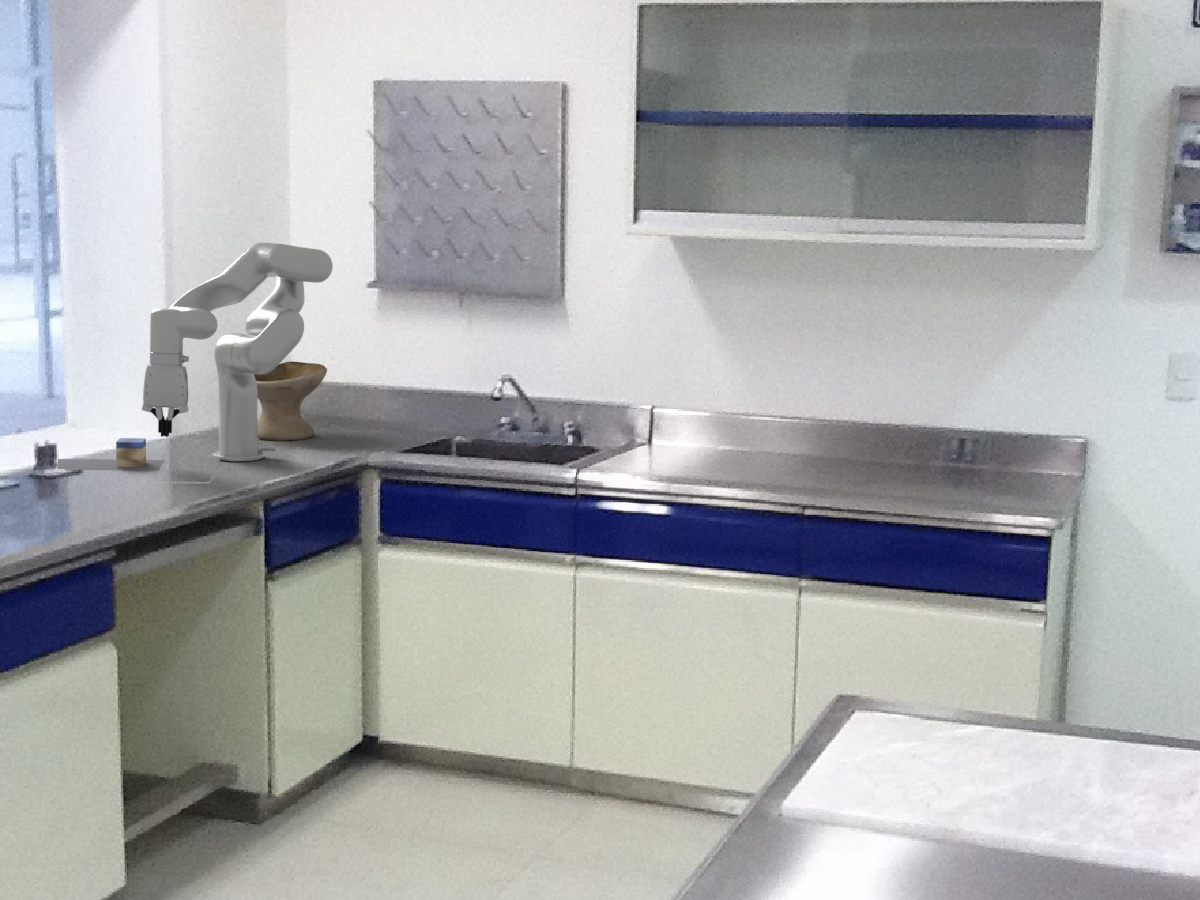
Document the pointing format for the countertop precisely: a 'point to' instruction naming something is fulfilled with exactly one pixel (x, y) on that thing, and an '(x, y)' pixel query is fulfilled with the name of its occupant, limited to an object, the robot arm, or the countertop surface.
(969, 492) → the countertop surface
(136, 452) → the cube
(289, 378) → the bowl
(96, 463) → the mat
